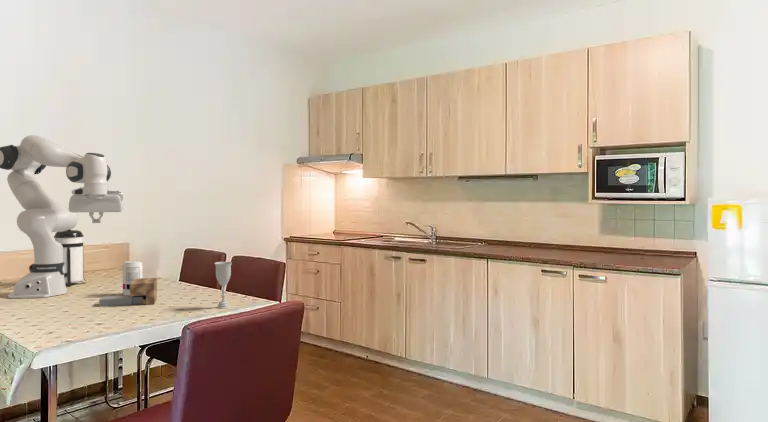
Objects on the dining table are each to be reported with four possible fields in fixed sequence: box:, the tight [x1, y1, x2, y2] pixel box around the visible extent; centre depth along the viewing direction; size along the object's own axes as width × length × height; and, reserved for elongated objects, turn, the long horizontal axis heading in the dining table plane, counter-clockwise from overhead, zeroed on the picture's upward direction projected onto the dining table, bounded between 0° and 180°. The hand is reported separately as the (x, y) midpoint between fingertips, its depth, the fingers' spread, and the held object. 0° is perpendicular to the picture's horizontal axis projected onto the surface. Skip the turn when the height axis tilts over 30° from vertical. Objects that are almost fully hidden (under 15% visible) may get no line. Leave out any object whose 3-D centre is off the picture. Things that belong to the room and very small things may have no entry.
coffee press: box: [53, 229, 87, 288], centre depth 263 cm, size 17×16×30 cm
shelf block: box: [130, 277, 158, 306], centre depth 223 cm, size 9×14×9 cm, turn 19°
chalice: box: [214, 261, 233, 309], centre depth 213 cm, size 7×7×18 cm
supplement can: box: [122, 260, 144, 295], centre depth 239 cm, size 8×8×15 cm
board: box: [98, 294, 144, 308], centre depth 219 cm, size 16×7×3 cm, turn 108°
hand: (96, 223), depth 226 cm, fingers closed
